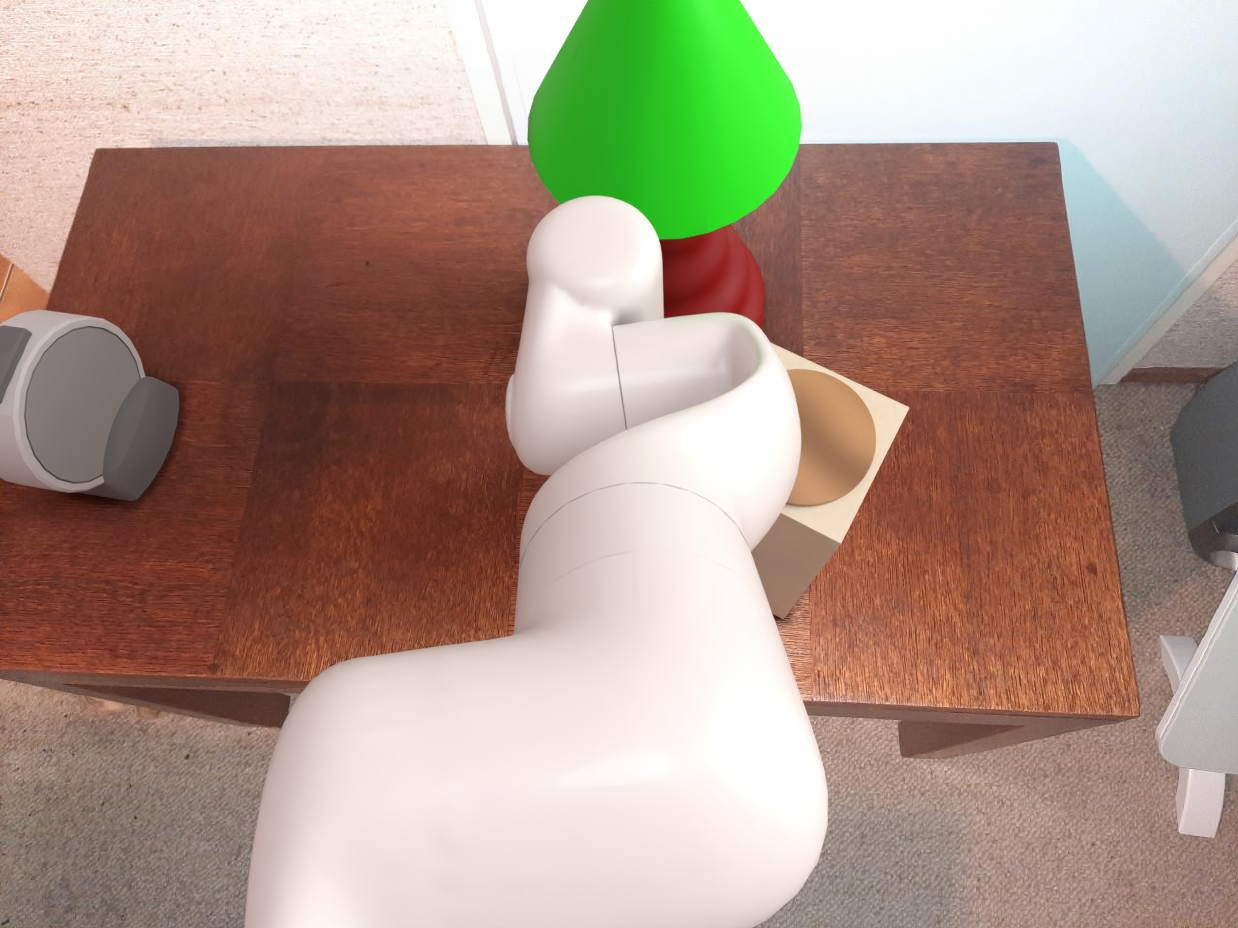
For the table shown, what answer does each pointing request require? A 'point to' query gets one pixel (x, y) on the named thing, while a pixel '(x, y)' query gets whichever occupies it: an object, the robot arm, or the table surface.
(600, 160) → the table lamp
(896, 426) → the block
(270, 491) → the table surface
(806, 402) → the cork pad
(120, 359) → the alarm clock
